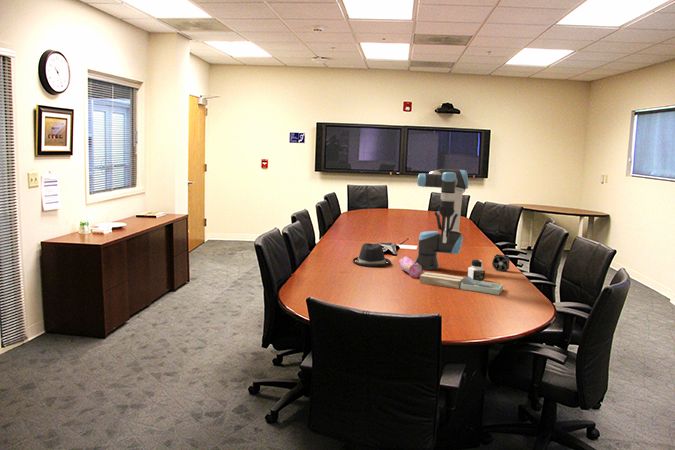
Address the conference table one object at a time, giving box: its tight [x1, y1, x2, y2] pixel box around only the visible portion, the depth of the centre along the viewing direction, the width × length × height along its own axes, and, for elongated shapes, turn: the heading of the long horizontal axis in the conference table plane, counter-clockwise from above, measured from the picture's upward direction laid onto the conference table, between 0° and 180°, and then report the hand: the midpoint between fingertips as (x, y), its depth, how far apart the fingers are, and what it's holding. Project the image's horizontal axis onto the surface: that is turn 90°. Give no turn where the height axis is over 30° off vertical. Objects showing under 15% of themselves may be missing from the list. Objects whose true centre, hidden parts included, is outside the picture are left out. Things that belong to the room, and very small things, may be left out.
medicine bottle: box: [467, 259, 486, 282], centre depth 296 cm, size 7×7×12 cm
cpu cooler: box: [491, 254, 511, 272], centre depth 326 cm, size 10×6×10 cm, turn 62°
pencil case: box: [398, 256, 425, 279], centre depth 307 cm, size 21×9×9 cm, turn 10°
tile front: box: [479, 281, 493, 288], centre depth 276 cm, size 6×6×3 cm
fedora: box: [352, 242, 392, 268], centre depth 333 cm, size 25×27×12 cm
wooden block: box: [418, 271, 465, 290], centre depth 287 cm, size 12×22×4 cm, turn 63°
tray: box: [459, 280, 504, 296], centre depth 277 cm, size 13×20×3 cm, turn 63°
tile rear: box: [463, 275, 477, 286], centre depth 279 cm, size 6×6×3 cm
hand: (444, 242), depth 286 cm, fingers closed
